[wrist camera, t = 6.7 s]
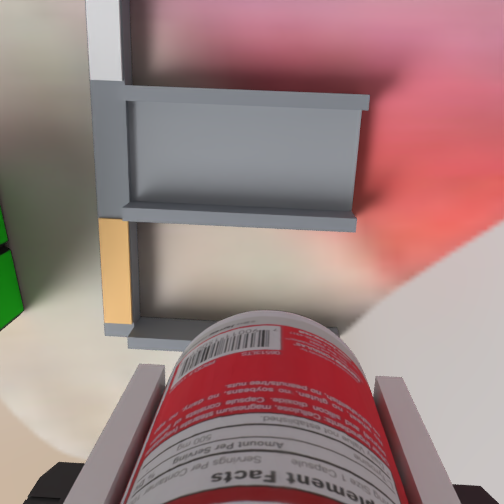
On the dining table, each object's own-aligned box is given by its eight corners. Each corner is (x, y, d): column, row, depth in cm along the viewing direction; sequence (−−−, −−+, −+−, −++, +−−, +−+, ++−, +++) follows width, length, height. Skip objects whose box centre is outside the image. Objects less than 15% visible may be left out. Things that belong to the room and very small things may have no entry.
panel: (90, -76, 26) (67, -98, 23) (376, -68, 26) (389, -90, 23) (112, 325, 33) (96, 346, 30) (336, 338, 33) (341, 360, 30)
